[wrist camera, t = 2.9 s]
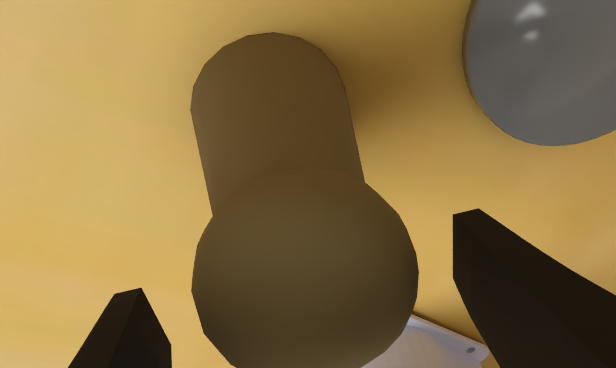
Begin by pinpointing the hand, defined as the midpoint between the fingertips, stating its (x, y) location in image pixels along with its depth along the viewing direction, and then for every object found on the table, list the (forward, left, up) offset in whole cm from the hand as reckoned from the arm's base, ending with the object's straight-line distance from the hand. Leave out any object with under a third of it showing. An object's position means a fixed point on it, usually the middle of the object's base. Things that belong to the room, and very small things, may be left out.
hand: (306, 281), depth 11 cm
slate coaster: (-9, -9, -9) cm, 16 cm away
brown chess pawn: (0, 0, -10) cm, 10 cm away
